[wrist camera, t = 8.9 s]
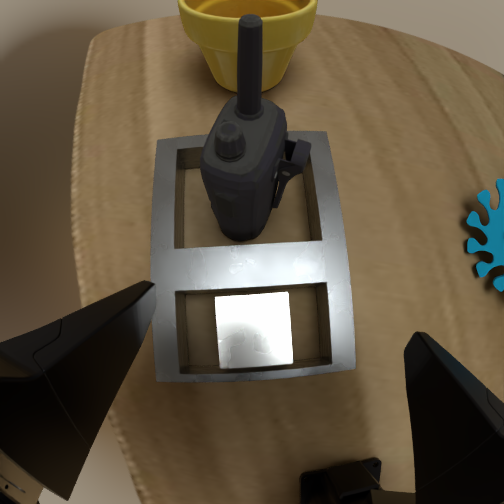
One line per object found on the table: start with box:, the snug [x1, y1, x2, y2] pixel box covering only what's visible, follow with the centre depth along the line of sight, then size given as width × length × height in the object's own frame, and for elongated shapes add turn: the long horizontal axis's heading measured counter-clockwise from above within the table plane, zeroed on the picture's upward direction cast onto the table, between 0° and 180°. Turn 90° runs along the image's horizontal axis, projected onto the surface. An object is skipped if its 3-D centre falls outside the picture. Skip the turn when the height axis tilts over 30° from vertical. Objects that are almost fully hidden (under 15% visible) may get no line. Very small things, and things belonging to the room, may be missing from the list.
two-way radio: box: [200, 14, 312, 241], centre depth 14 cm, size 6×4×15 cm
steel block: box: [215, 292, 293, 369], centre depth 18 cm, size 4×4×4 cm
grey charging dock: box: [151, 131, 356, 382], centre depth 19 cm, size 16×12×3 cm
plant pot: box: [178, 0, 318, 92], centre depth 19 cm, size 10×10×10 cm
